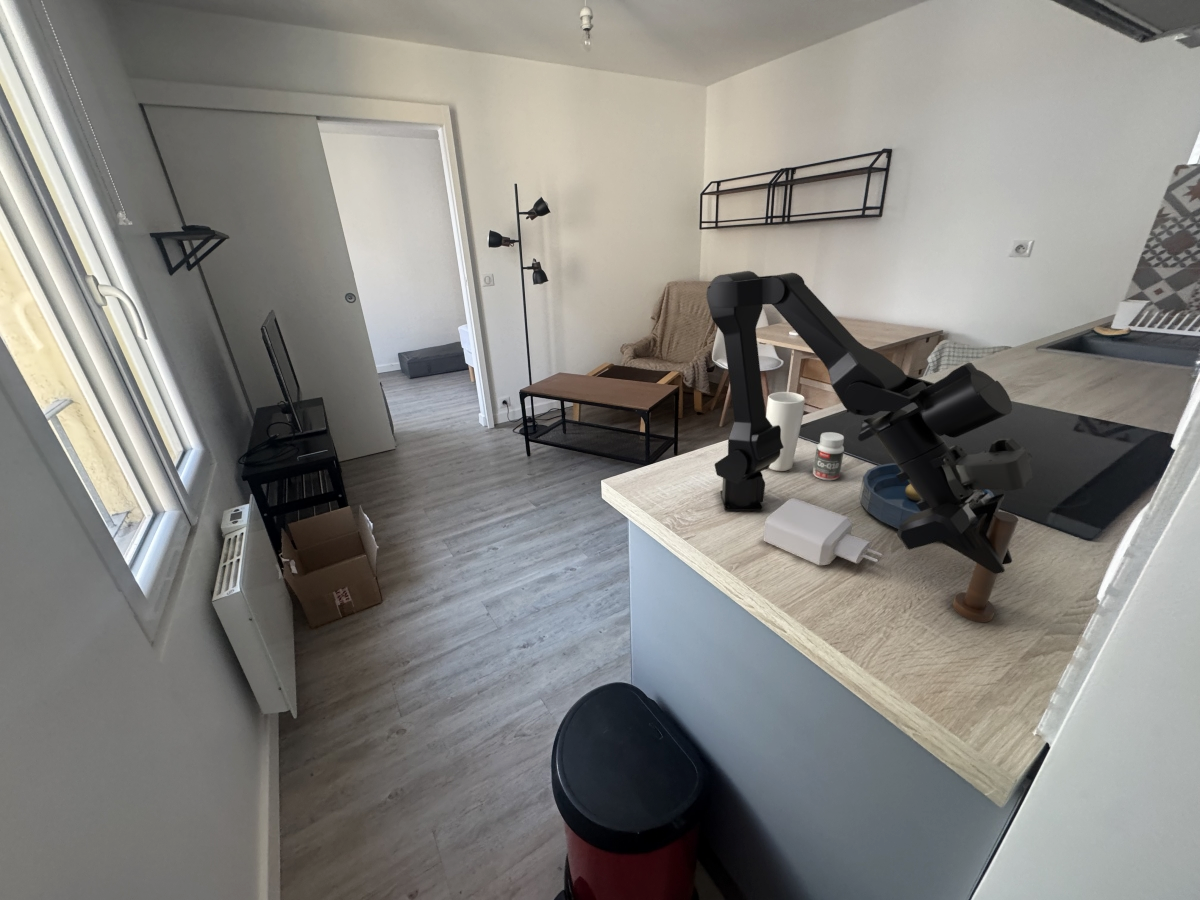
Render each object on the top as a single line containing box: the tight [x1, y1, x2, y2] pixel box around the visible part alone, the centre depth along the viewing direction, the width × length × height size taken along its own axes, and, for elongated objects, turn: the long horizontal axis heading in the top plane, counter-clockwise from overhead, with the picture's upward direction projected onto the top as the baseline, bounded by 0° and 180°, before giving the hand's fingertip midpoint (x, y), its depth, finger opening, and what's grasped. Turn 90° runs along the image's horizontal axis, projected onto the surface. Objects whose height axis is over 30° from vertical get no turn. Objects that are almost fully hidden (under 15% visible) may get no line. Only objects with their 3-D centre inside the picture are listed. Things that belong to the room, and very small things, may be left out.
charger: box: [763, 497, 884, 566], centre depth 70 cm, size 5×9×15 cm
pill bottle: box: [812, 431, 845, 481], centre depth 90 cm, size 5×5×8 cm
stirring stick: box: [952, 510, 1019, 623], centre depth 56 cm, size 4×4×14 cm
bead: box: [905, 484, 921, 501], centre depth 80 cm, size 3×3×3 cm
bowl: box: [859, 462, 995, 530], centre depth 78 cm, size 18×18×4 cm
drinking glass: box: [765, 391, 806, 472], centre depth 93 cm, size 7×7×15 cm
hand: (1003, 567), depth 54 cm, fingers closed on stirring stick, 2 cm apart
